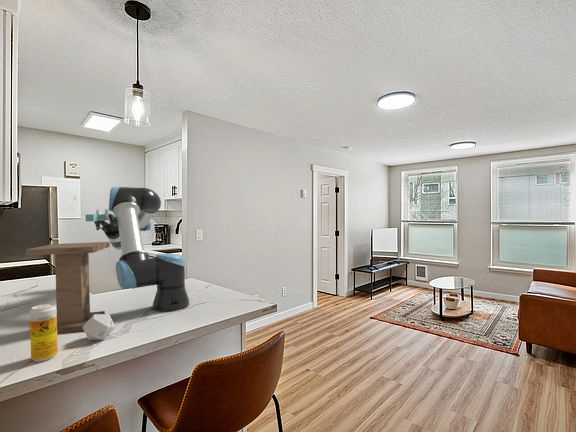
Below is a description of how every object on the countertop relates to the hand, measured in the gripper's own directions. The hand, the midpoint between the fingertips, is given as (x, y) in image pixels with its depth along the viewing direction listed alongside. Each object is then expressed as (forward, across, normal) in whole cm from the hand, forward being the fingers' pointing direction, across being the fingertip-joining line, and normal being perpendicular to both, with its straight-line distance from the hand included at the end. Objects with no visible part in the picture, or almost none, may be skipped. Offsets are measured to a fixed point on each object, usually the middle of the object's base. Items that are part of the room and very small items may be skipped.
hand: (101, 211), depth 149 cm
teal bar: (+1, 0, -5) cm, 5 cm away
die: (+24, -13, -63) cm, 69 cm away
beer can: (+33, -2, -69) cm, 76 cm away
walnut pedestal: (+9, 0, -55) cm, 55 cm away
